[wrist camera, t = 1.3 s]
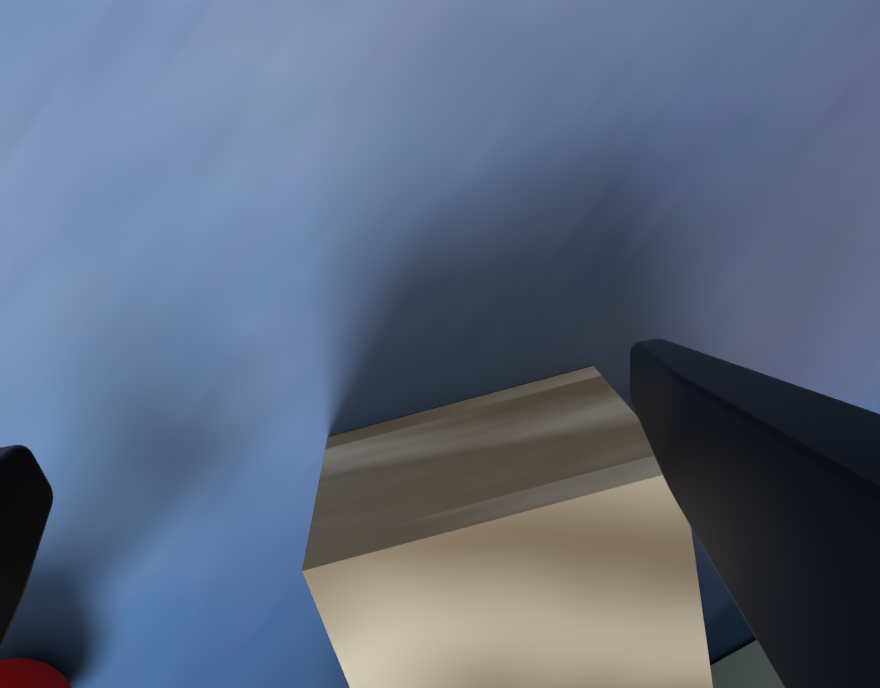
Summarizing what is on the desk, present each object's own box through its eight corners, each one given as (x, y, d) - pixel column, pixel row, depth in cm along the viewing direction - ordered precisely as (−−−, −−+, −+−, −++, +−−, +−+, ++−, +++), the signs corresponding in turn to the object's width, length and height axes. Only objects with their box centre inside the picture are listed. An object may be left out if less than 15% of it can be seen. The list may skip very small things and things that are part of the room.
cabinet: (650, 679, 31) (736, 858, 23) (434, 736, 31) (450, 933, 23) (593, 365, 25) (682, 469, 17) (327, 437, 25) (302, 570, 18)
